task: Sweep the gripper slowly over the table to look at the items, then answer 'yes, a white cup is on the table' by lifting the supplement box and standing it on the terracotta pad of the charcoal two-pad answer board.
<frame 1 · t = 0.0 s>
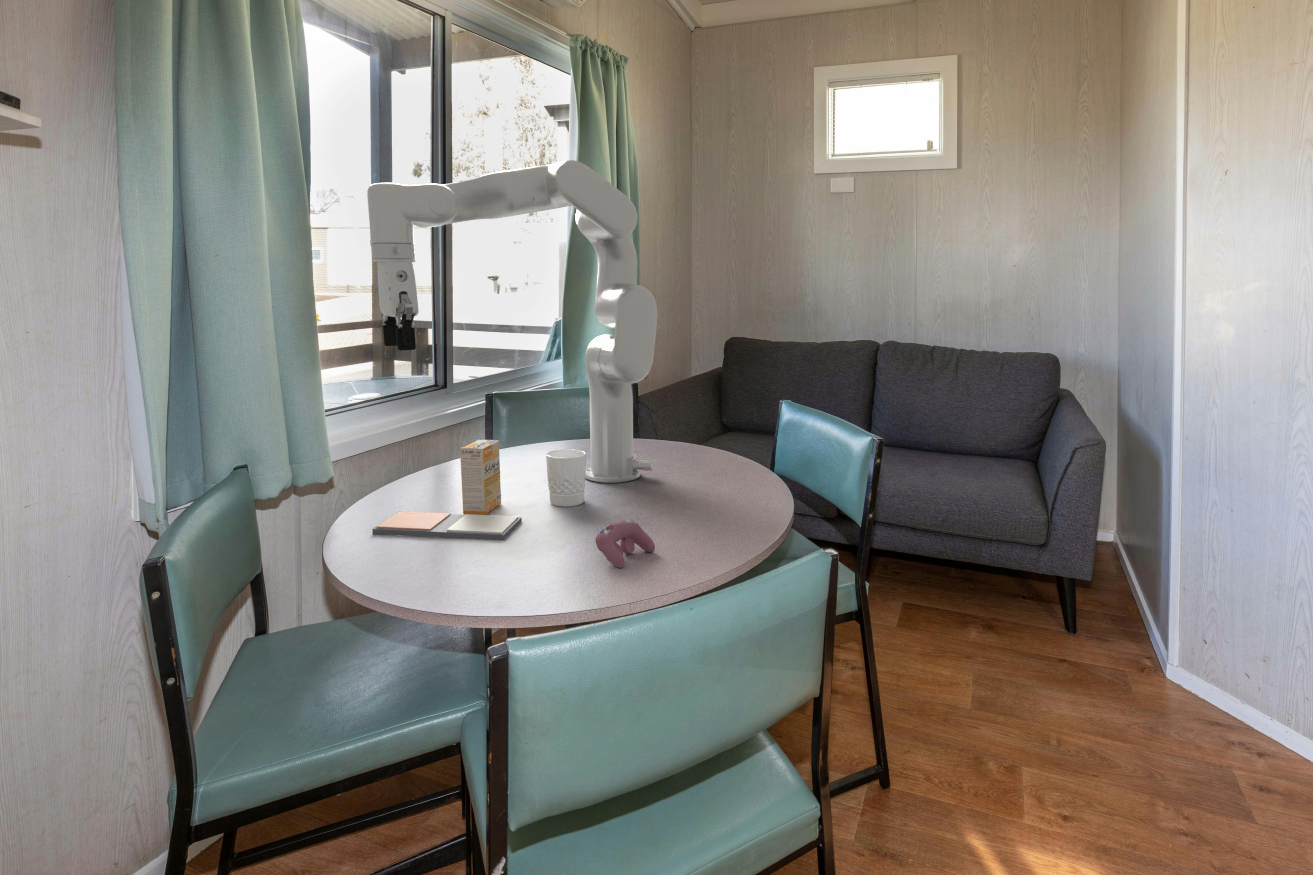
hand: (399, 347, 150), 31 cm above the table, tool pointing down, fingers open, 9 cm apart
video game controller: (625, 558, 130), on the table
answer board: (448, 528, 144), on the table
supplement box: (483, 510, 155), on the table
white cup: (567, 503, 160), on the table
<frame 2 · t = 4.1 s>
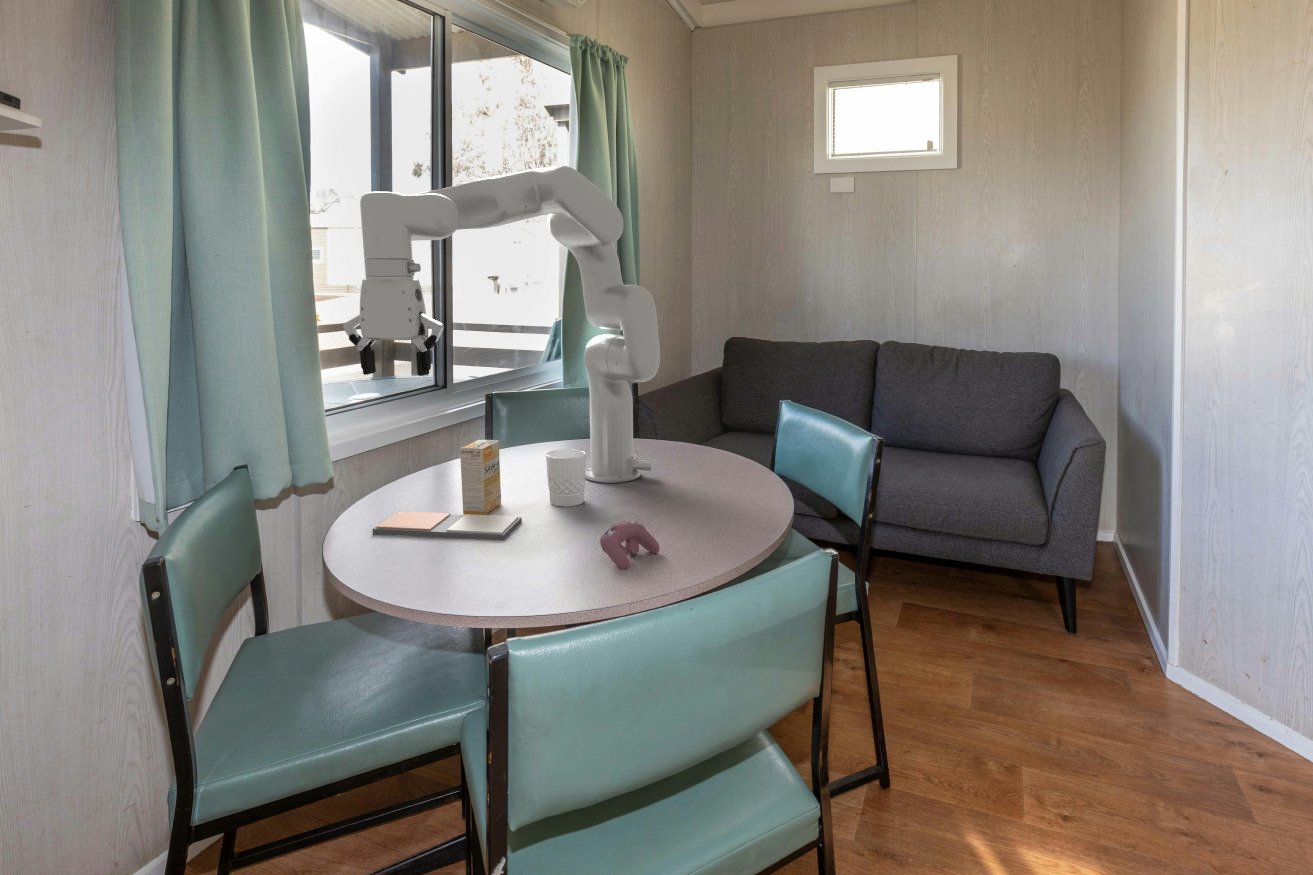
hand: (396, 374, 135), 28 cm above the table, tool pointing down, fingers open, 9 cm apart
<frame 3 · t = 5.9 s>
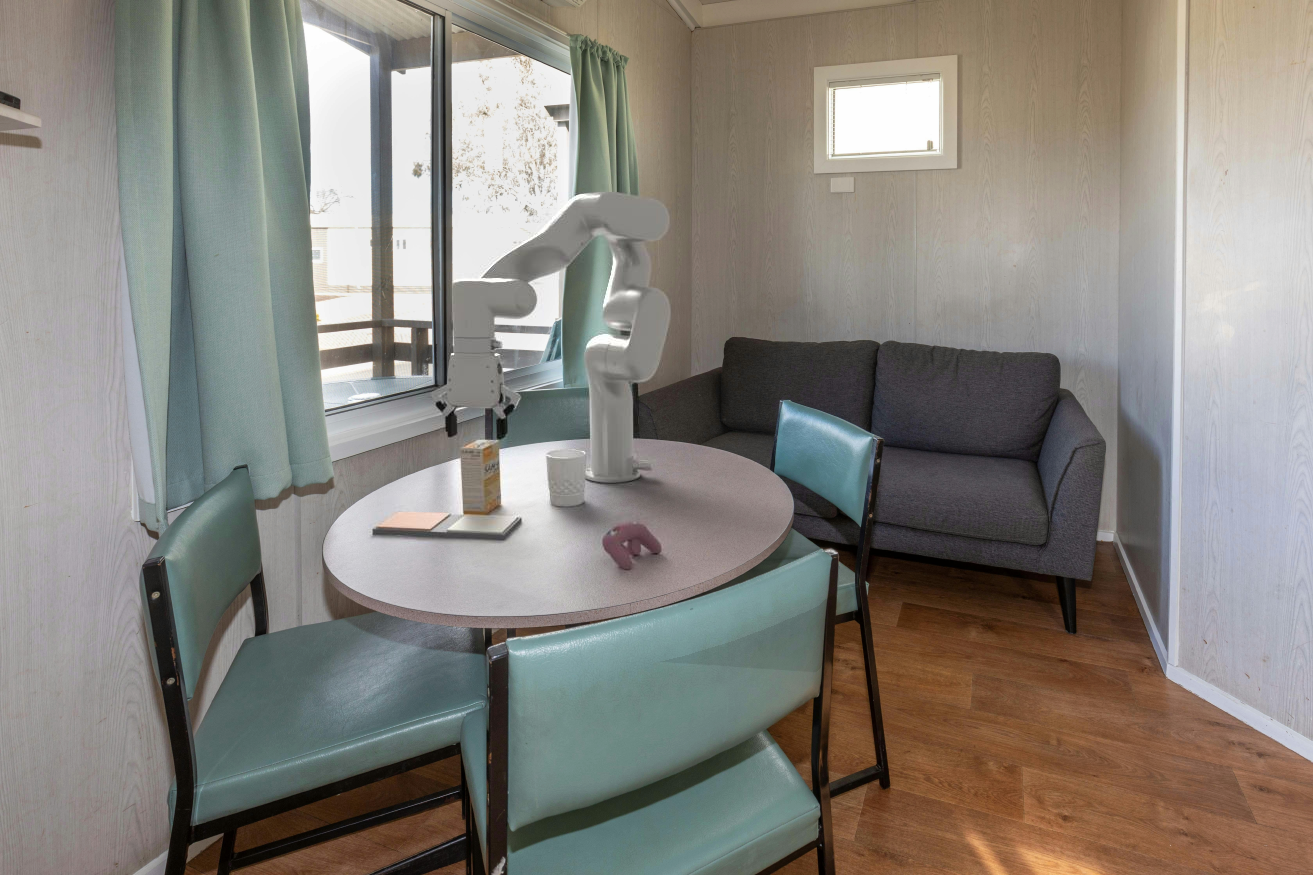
hand: (476, 437, 152), 14 cm above the table, tool pointing down, fingers open, 9 cm apart
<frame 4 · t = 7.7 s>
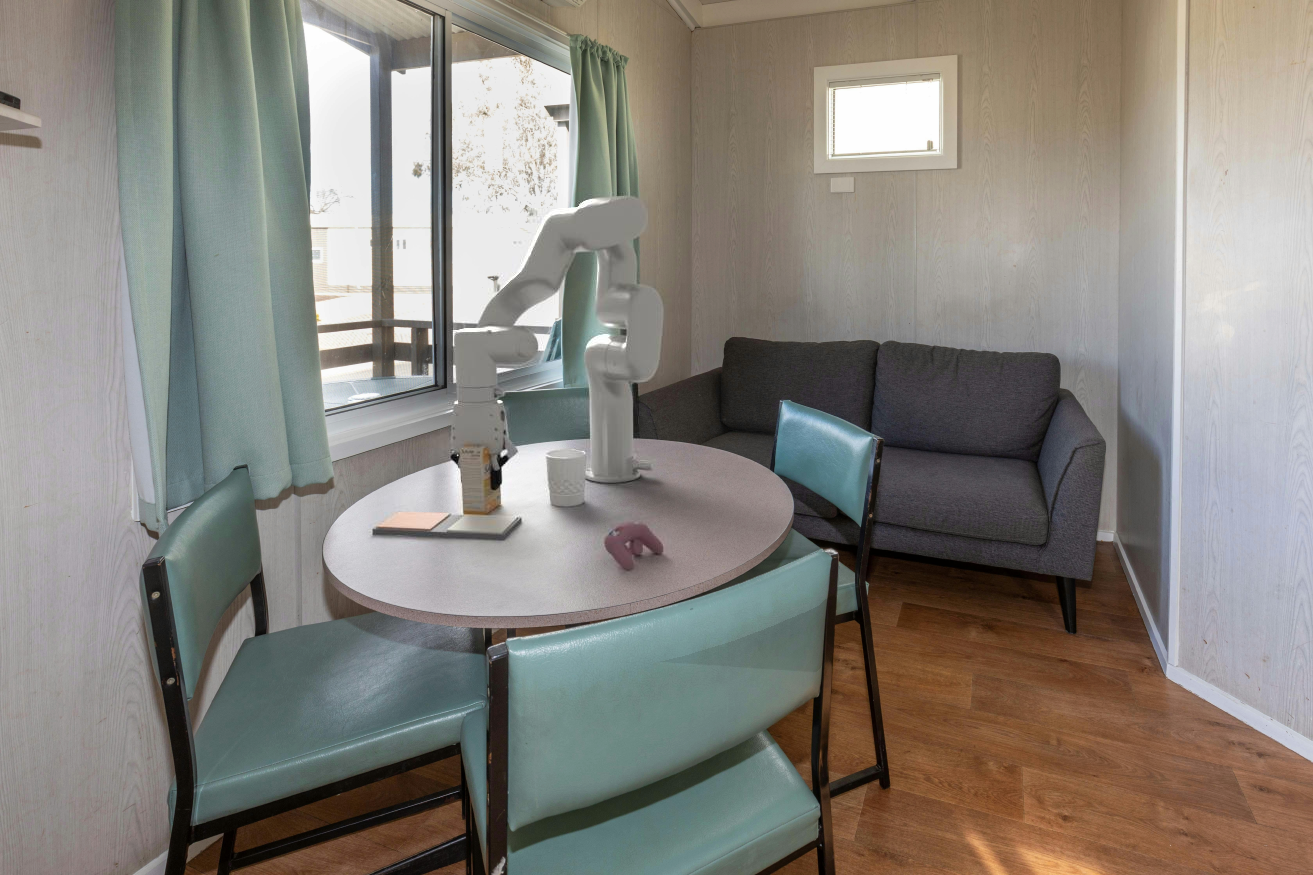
hand: (481, 487, 154), 4 cm above the table, tool pointing down, fingers closed on supplement box, 5 cm apart
supplement box: (482, 510, 155), on the table, touching gripper
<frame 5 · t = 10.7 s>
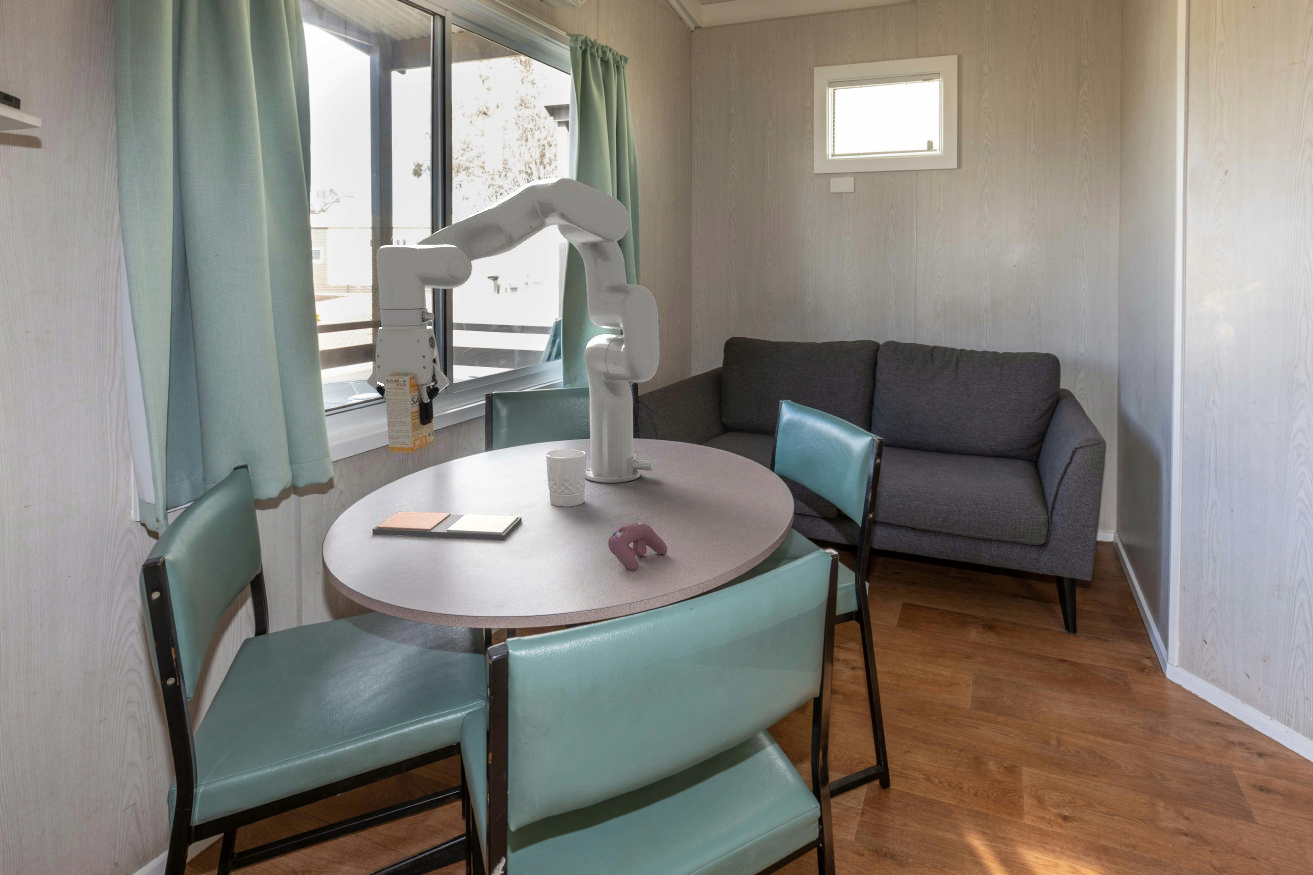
hand: (411, 422, 141), 19 cm above the table, tool pointing down, fingers closed on supplement box, 5 cm apart
supplement box: (412, 448, 142), point 15 cm above the table, touching gripper
when the fingers open (7 cm above the table, at t = 13.7 s): supplement box drops 1 cm, resting on answer board.
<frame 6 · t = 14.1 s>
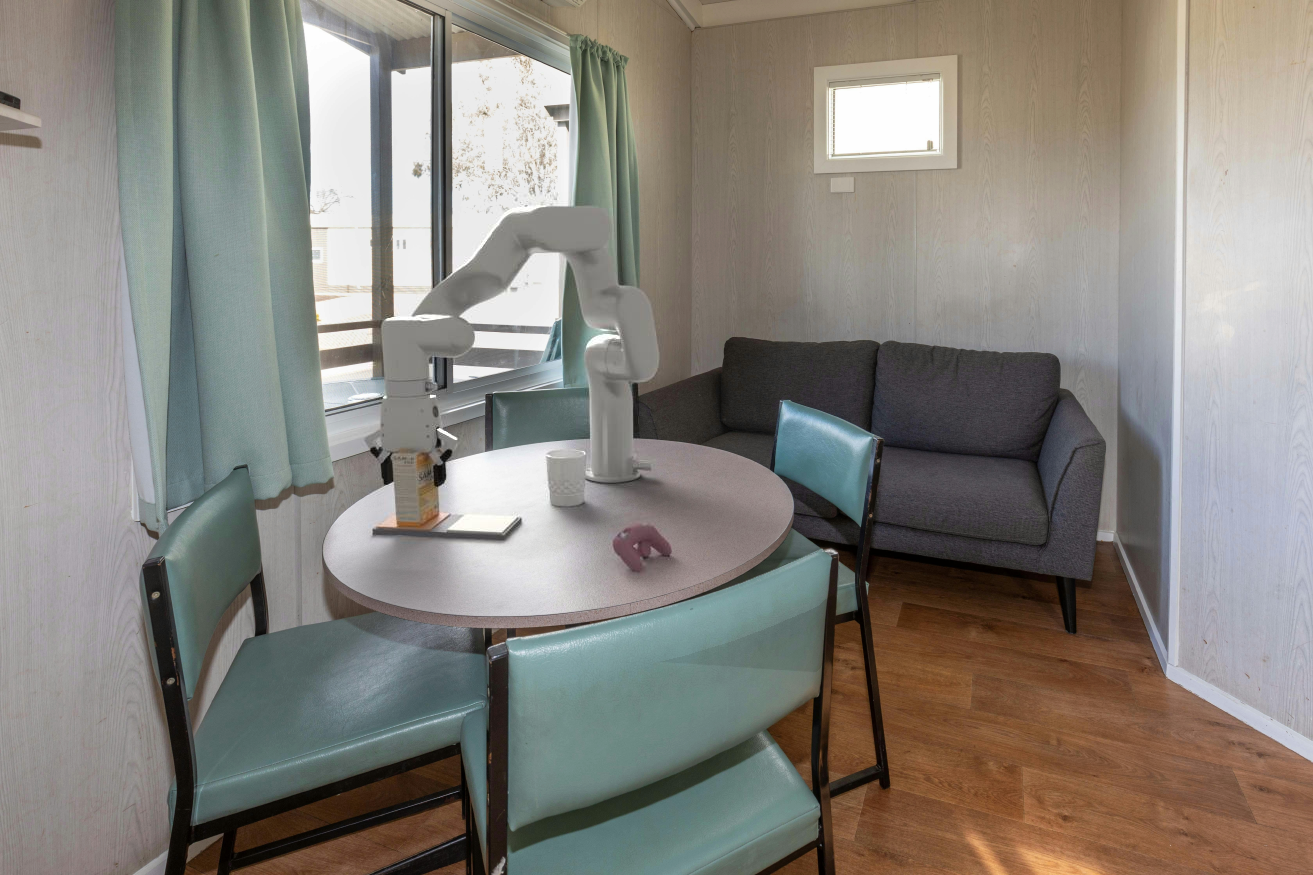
hand: (414, 483, 143), 8 cm above the table, tool pointing down, fingers open, 9 cm apart
supplement box: (419, 520, 145), point 1 cm above the table, touching answer board
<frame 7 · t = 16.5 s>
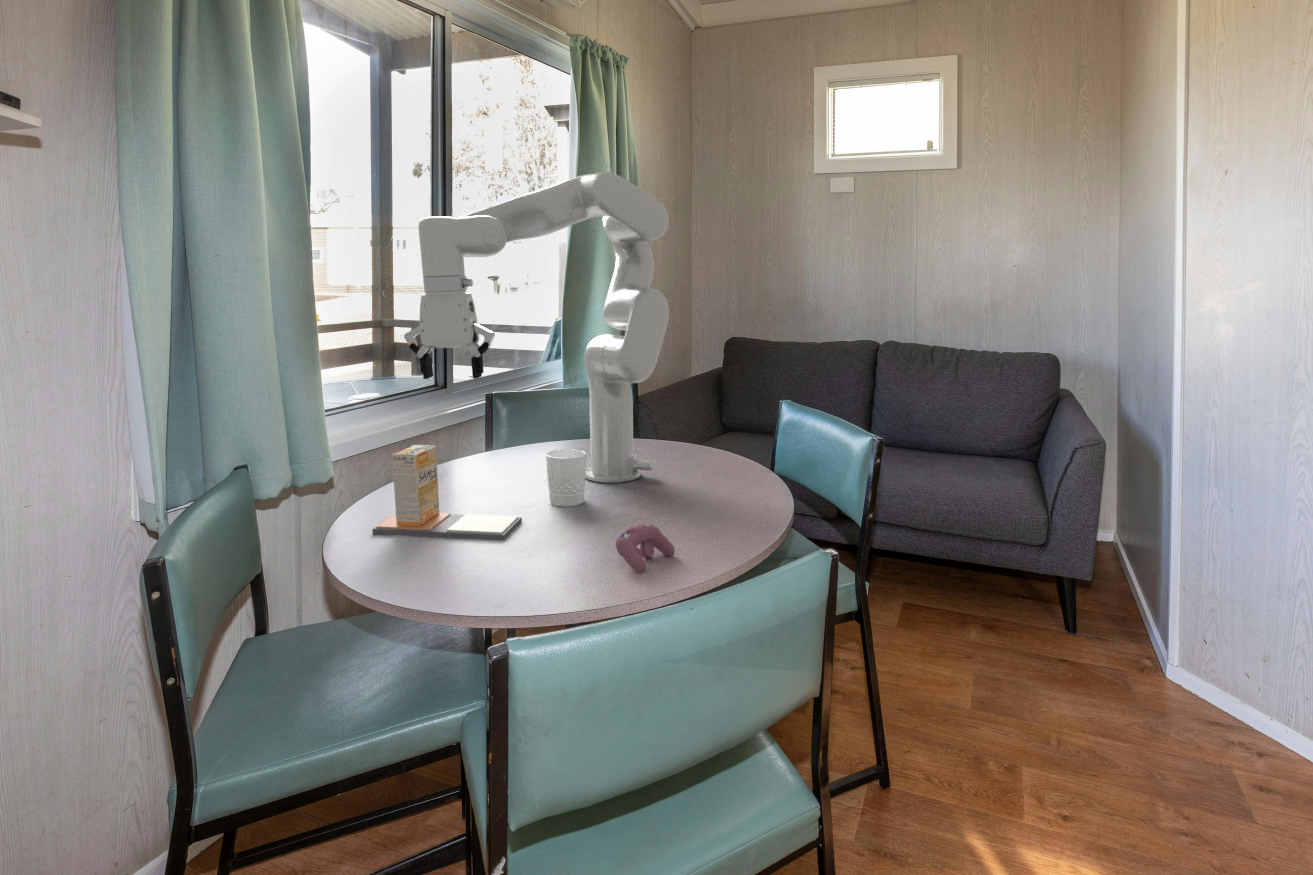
hand: (452, 377, 152), 25 cm above the table, tool pointing down, fingers open, 9 cm apart
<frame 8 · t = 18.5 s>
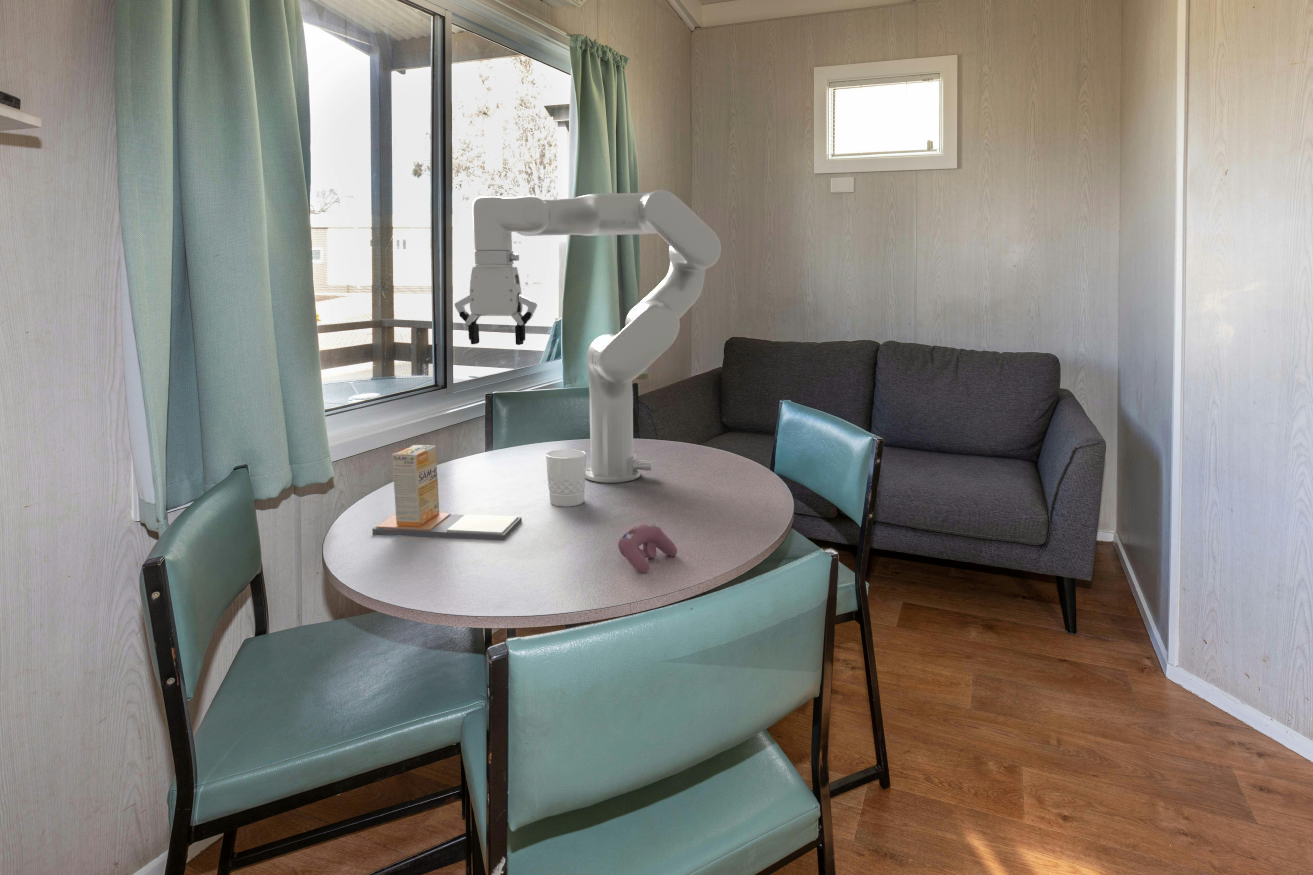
hand: (497, 344, 167), 30 cm above the table, tool pointing down, fingers open, 9 cm apart
at the end: supplement box inside the target area on the answer board (0.8 cm from its centre), point 1.1 cm above the answer board's base; supplement box tilted 0°; the gripper is holding nothing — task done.
